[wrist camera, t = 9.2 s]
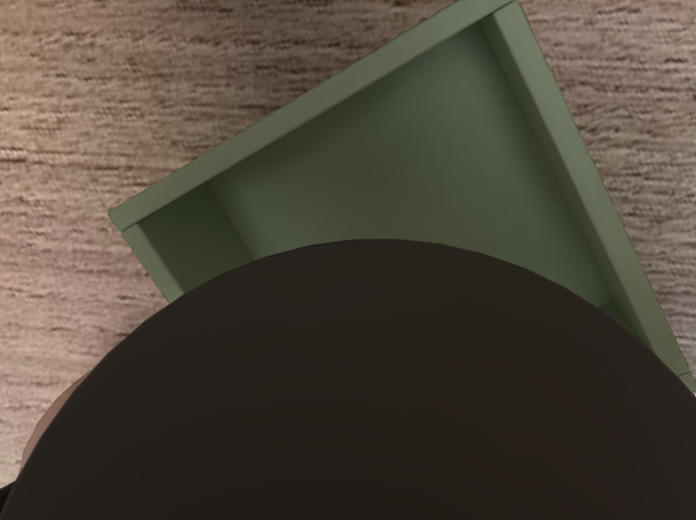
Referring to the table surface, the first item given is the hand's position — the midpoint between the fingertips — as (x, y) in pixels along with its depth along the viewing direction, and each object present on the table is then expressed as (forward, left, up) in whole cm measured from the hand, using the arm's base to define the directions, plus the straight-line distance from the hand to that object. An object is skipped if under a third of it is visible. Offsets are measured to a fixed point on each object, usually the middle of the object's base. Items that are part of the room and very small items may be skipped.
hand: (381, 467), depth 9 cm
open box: (0, 0, -13) cm, 13 cm away
